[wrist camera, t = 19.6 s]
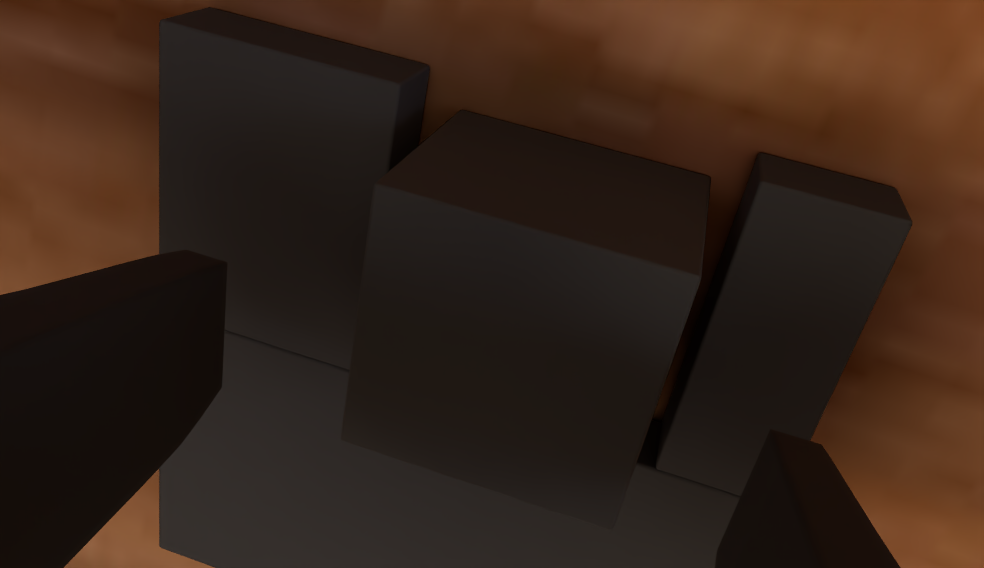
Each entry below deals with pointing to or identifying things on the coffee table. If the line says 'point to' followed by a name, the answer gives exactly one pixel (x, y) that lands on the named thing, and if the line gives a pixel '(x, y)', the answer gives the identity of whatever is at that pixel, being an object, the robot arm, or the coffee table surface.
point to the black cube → (523, 311)
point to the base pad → (333, 311)
